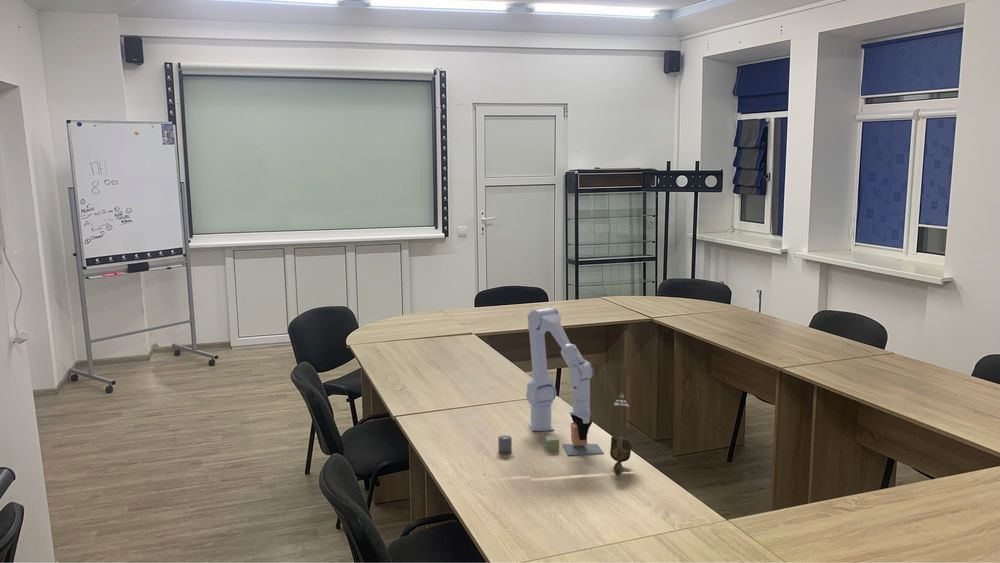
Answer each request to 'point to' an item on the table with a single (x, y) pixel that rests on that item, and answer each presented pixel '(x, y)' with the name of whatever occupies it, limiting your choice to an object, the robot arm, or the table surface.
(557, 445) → the olive cube
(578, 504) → the table surface
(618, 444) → the brown piece
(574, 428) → the terracotta block
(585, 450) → the slate mat
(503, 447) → the dark grey cylinder
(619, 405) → the house of cards
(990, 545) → the table surface
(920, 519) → the table surface
